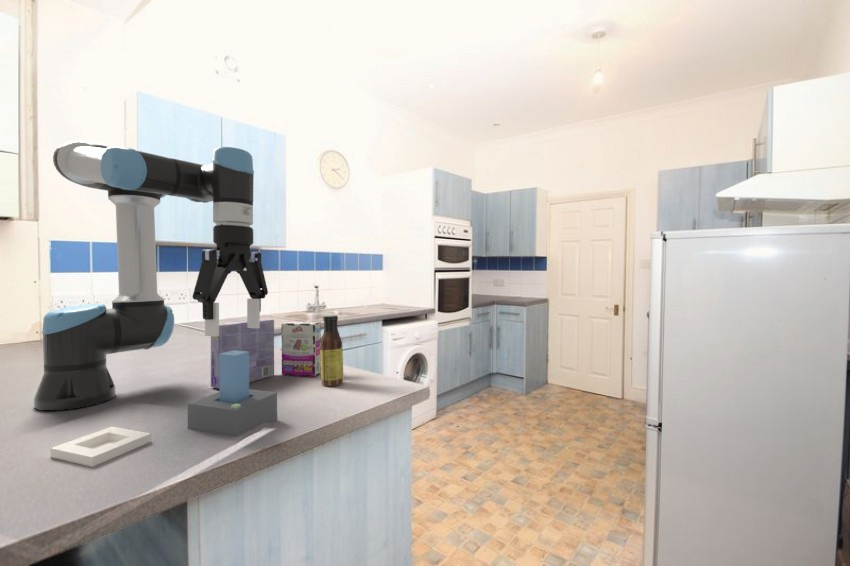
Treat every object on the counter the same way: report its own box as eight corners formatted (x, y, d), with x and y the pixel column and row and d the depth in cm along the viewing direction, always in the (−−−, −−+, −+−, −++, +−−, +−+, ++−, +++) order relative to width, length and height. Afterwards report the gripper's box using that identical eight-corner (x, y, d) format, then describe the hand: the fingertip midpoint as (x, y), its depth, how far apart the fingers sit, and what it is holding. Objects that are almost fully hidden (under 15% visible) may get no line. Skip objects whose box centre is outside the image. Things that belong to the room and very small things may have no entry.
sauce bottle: (347, 383, 118) (348, 315, 117) (332, 388, 112) (332, 317, 112) (331, 380, 121) (331, 313, 120) (315, 384, 116) (315, 315, 115)
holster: (50, 462, 68) (50, 448, 68) (112, 439, 78) (112, 426, 78) (92, 472, 65) (92, 457, 65) (151, 446, 75) (150, 433, 75)
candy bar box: (321, 373, 129) (321, 321, 128) (314, 377, 124) (314, 324, 123) (288, 371, 130) (288, 320, 130) (280, 375, 125) (280, 322, 125)
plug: (219, 421, 84) (219, 353, 83) (234, 414, 88) (233, 350, 87) (235, 423, 83) (234, 355, 82) (249, 416, 86) (249, 351, 86)
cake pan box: (267, 373, 128) (267, 317, 127) (278, 375, 126) (278, 318, 125) (208, 388, 111) (208, 324, 111) (219, 391, 109) (219, 325, 108)
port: (187, 433, 81) (187, 401, 81) (233, 413, 93) (232, 384, 92) (236, 441, 78) (236, 407, 77) (277, 419, 89) (277, 390, 89)
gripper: (201, 218, 72) (202, 342, 72) (284, 230, 94) (284, 325, 94) (168, 219, 74) (170, 339, 75) (257, 231, 96) (258, 323, 97)
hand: (234, 331), depth 84 cm, fingers open, 11 cm apart
